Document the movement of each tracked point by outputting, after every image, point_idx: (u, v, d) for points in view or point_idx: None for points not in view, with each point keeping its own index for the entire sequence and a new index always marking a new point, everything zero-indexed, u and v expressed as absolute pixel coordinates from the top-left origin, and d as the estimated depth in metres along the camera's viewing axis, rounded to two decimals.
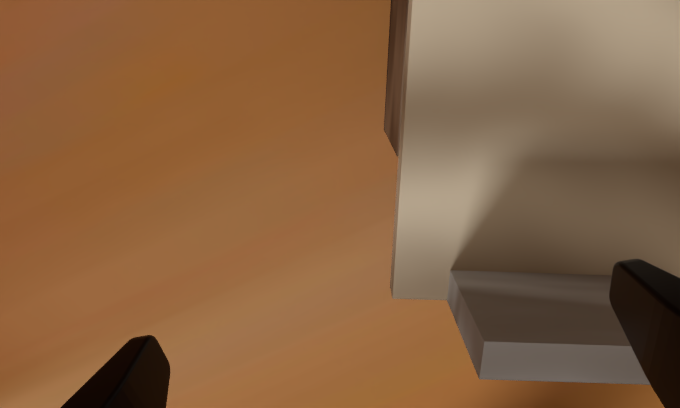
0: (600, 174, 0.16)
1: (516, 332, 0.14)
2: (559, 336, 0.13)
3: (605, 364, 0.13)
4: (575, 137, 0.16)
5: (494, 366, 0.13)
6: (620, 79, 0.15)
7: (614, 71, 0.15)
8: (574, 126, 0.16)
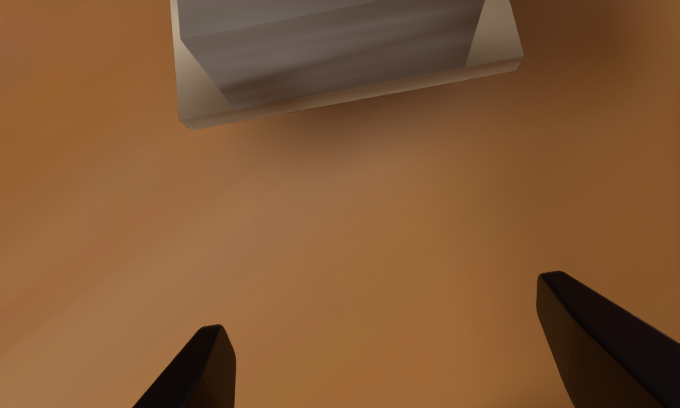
0: None
1: None
2: None
3: None
4: None
5: (192, 22, 0.13)
6: None
7: None
8: None
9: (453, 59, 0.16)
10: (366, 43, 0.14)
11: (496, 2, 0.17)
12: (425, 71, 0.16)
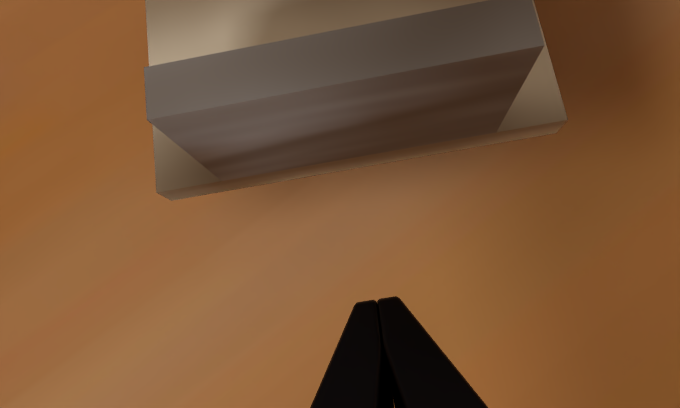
0: (354, 6, 0.15)
1: None
2: (249, 56, 0.10)
3: (306, 62, 0.10)
4: None
5: (163, 97, 0.10)
6: None
7: None
8: None
9: (484, 125, 0.13)
10: (381, 114, 0.11)
11: None
12: (449, 137, 0.14)
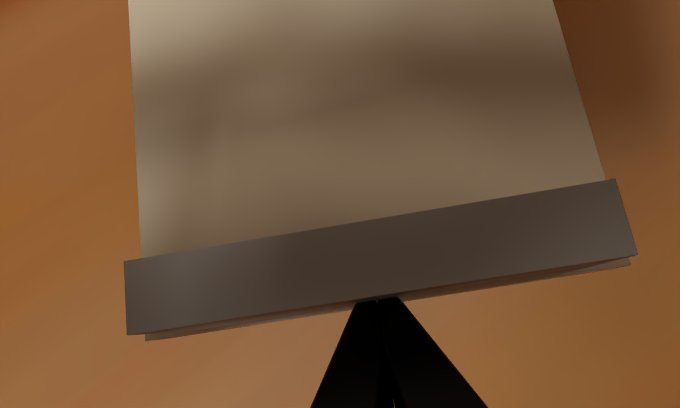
0: (375, 116, 0.13)
1: None
2: (256, 243, 0.08)
3: (328, 264, 0.08)
4: (330, 82, 0.13)
5: (147, 305, 0.08)
6: (359, 16, 0.14)
7: (349, 10, 0.14)
8: (325, 72, 0.13)
9: (534, 279, 0.11)
10: (417, 294, 0.09)
11: (586, 180, 0.12)
12: (491, 286, 0.11)
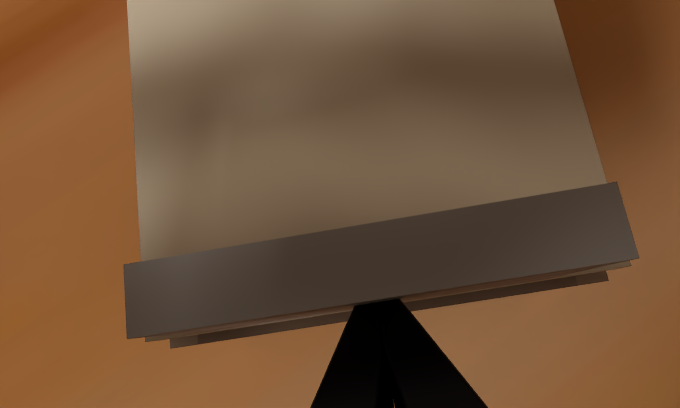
0: (375, 116, 0.13)
1: None
2: (257, 245, 0.08)
3: (329, 267, 0.08)
4: (329, 82, 0.13)
5: (147, 308, 0.08)
6: (359, 15, 0.14)
7: (349, 10, 0.14)
8: (324, 71, 0.13)
9: (534, 280, 0.11)
10: (417, 296, 0.09)
11: (587, 180, 0.12)
12: (491, 287, 0.11)
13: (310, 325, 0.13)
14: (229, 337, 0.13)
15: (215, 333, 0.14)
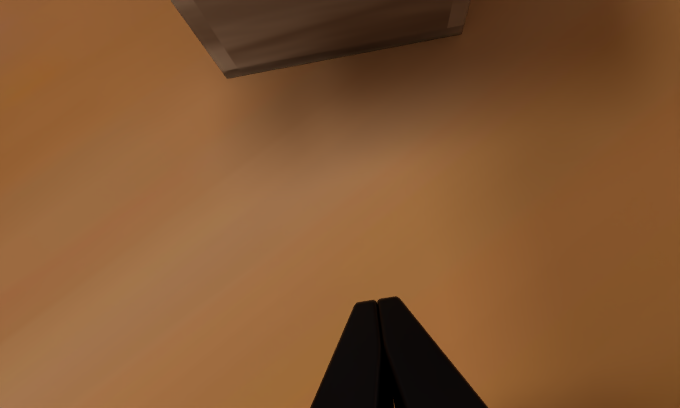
0: None
1: None
2: None
3: None
4: None
5: None
6: None
7: None
8: None
9: None
10: None
11: None
12: None
13: None
14: None
15: None
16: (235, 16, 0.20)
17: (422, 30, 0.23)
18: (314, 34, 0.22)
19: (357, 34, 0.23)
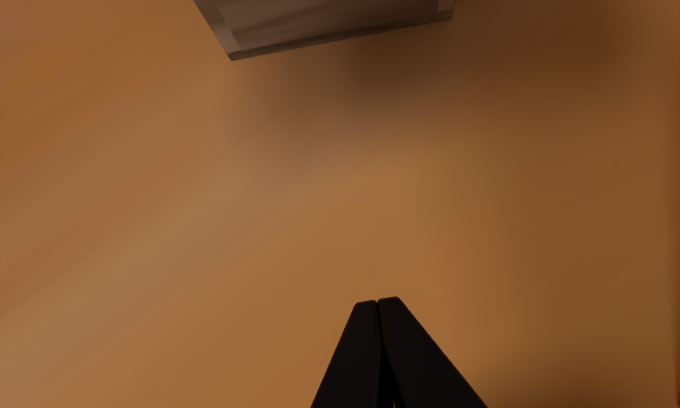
0: None
1: None
2: None
3: None
4: None
5: None
6: None
7: None
8: None
9: None
10: None
11: None
12: None
13: None
14: None
15: None
16: None
17: (414, 14, 0.25)
18: (313, 16, 0.24)
19: (353, 17, 0.24)
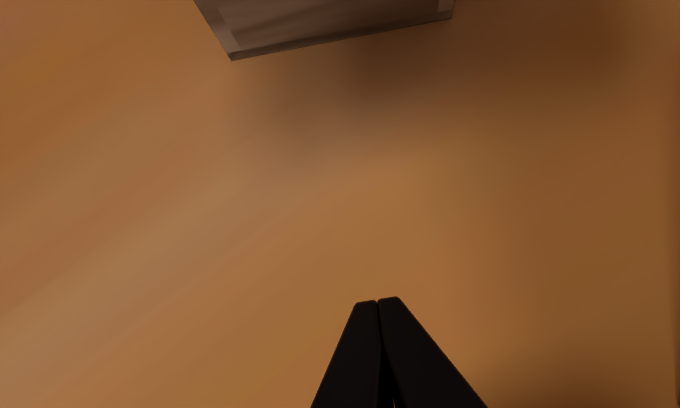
0: None
1: None
2: None
3: None
4: None
5: None
6: None
7: None
8: None
9: None
10: None
11: None
12: None
13: None
14: None
15: None
16: None
17: (414, 14, 0.25)
18: (313, 17, 0.24)
19: (353, 17, 0.24)
